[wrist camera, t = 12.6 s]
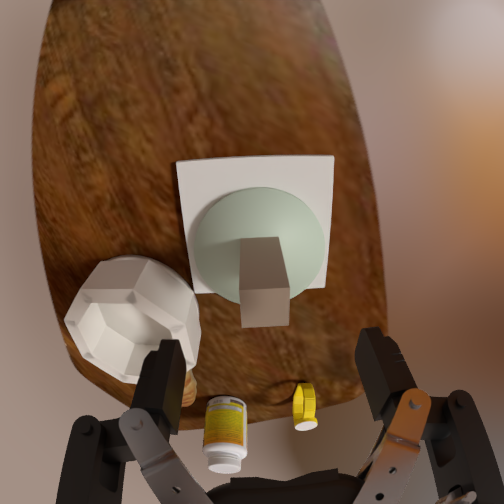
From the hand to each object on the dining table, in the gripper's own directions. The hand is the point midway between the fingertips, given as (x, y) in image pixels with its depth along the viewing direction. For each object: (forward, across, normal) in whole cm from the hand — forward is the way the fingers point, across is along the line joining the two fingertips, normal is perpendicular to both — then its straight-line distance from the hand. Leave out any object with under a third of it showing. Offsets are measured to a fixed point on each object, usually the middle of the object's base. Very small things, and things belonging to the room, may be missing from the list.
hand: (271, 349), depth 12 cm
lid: (+13, 0, +2) cm, 13 cm away
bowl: (+14, +12, +8) cm, 20 cm away
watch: (+13, -5, +24) cm, 28 cm away
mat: (+14, 0, +1) cm, 14 cm away
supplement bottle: (+13, +5, +27) cm, 30 cm away
